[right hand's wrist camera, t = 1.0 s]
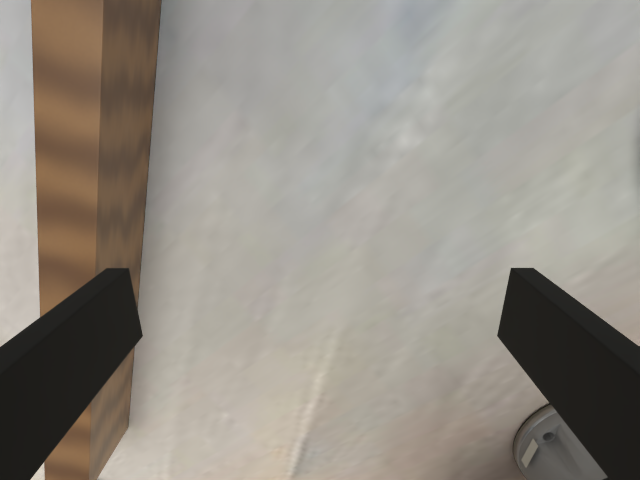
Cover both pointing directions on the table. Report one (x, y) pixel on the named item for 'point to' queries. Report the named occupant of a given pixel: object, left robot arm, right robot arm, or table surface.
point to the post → (92, 178)
